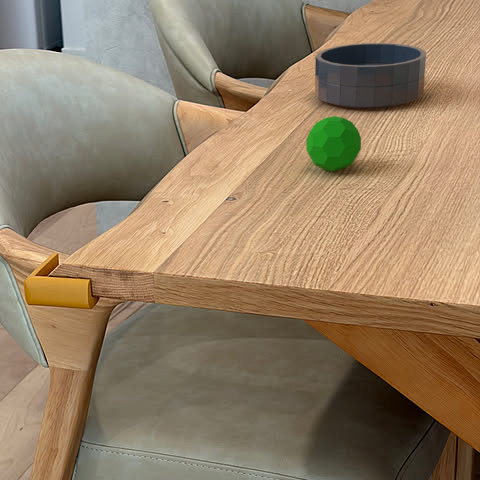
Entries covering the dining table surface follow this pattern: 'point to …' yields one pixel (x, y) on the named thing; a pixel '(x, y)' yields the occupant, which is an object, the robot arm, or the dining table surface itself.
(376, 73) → the bowl
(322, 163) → the polyhedron
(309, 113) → the dining table surface
